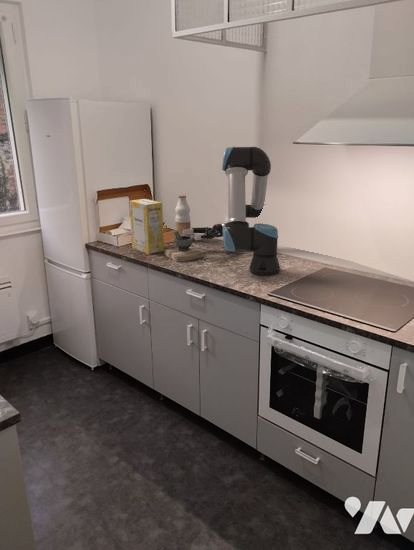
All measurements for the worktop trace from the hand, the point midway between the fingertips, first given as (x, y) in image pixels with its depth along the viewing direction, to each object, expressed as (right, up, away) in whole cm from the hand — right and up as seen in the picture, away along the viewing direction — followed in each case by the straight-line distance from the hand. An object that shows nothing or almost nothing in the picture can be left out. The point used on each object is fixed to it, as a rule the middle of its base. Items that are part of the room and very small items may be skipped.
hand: (188, 235), depth 252 cm
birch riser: (-3, -12, +2) cm, 12 cm away
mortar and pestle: (-3, -9, +1) cm, 9 cm away
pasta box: (-25, -7, +17) cm, 31 cm away
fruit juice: (-5, 0, +37) cm, 37 cm away
